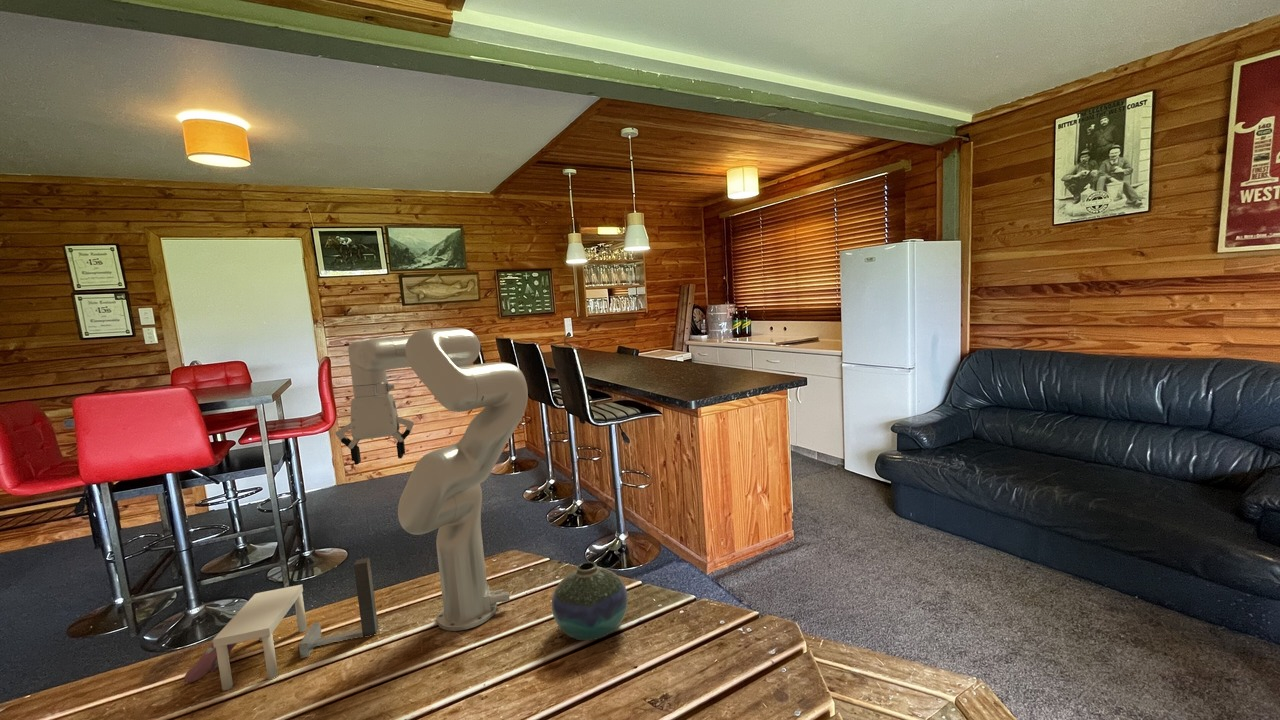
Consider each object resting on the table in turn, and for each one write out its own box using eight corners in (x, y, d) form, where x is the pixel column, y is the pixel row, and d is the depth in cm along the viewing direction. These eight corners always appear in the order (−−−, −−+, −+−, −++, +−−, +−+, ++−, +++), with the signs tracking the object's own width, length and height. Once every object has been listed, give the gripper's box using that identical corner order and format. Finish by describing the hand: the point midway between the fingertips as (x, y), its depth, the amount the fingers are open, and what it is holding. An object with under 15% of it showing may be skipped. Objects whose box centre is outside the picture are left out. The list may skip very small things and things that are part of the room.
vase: (595, 663, 95) (588, 593, 94) (538, 637, 104) (532, 574, 103) (645, 620, 107) (639, 558, 106) (590, 601, 116) (585, 544, 115)
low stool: (308, 627, 116) (302, 584, 115) (276, 678, 98) (269, 627, 98) (261, 637, 113) (255, 593, 113) (220, 691, 96) (212, 639, 95)
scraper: (380, 622, 115) (372, 552, 114) (373, 642, 108) (363, 567, 107) (313, 636, 112) (304, 565, 111) (300, 658, 104) (290, 582, 103)
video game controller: (206, 689, 100) (219, 654, 100) (180, 683, 99) (194, 648, 99) (236, 657, 109) (248, 626, 109) (213, 652, 108) (225, 620, 108)
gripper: (411, 385, 132) (419, 451, 133) (335, 394, 127) (344, 462, 128) (407, 388, 125) (415, 458, 126) (326, 397, 120) (335, 469, 121)
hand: (379, 460), depth 127 cm, fingers open, 9 cm apart
